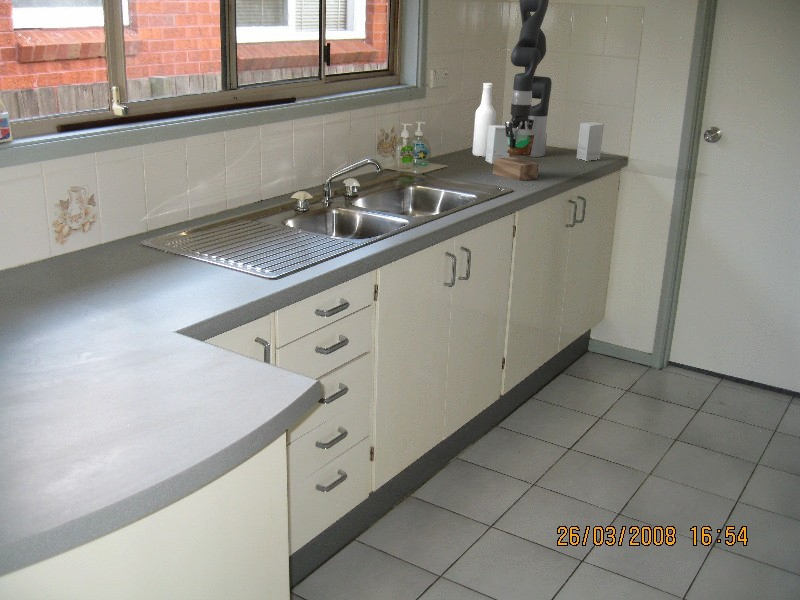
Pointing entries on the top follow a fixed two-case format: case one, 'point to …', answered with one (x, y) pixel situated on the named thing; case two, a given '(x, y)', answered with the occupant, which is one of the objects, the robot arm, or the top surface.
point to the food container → (522, 142)
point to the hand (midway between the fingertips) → (517, 147)
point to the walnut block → (515, 168)
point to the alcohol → (483, 121)
